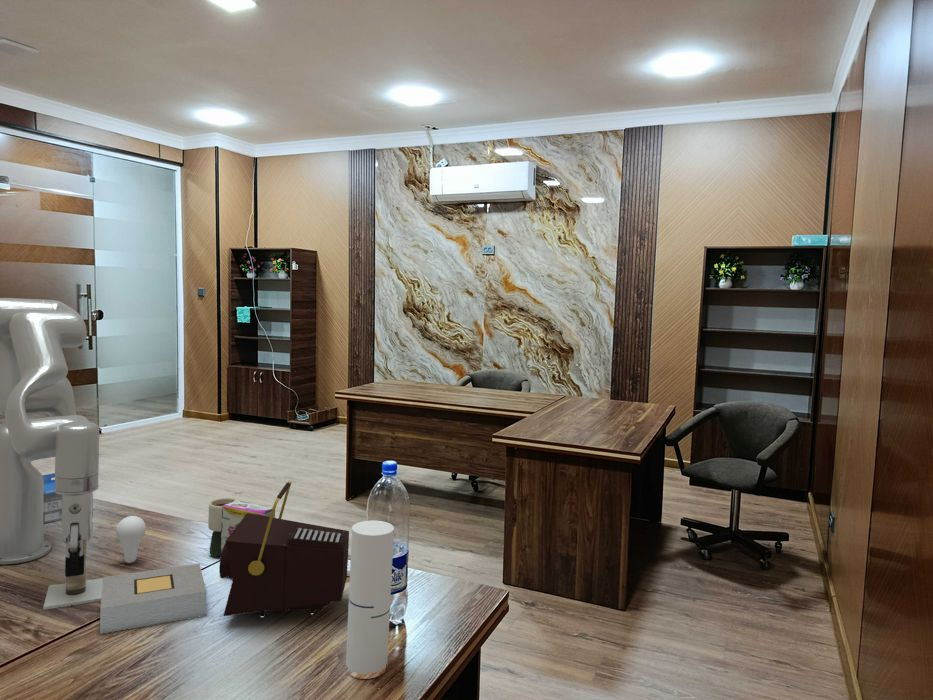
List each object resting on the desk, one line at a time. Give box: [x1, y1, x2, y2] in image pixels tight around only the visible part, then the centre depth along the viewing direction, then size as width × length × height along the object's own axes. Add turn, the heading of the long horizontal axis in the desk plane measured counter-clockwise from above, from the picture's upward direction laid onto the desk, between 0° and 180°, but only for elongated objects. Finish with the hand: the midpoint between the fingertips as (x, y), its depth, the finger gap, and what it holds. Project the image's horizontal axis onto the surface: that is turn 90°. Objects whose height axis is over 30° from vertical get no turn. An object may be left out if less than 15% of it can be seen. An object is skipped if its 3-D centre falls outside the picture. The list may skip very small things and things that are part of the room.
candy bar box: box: [221, 499, 276, 579], centre depth 139 cm, size 11×5×16 cm, turn 71°
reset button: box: [137, 576, 172, 594], centre depth 123 cm, size 6×6×3 cm
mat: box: [42, 577, 103, 611], centre depth 127 cm, size 10×10×1 cm
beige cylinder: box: [65, 537, 88, 595], centre depth 127 cm, size 4×4×12 cm
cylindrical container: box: [345, 520, 395, 674], centre depth 107 cm, size 7×7×25 cm
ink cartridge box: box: [42, 472, 62, 525], centre depth 168 cm, size 9×4×12 cm, turn 147°
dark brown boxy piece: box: [218, 480, 350, 617], centre depth 126 cm, size 16×23×25 cm
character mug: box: [207, 497, 240, 557], centre depth 151 cm, size 11×7×13 cm, turn 51°
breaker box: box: [99, 563, 208, 635], centre depth 123 cm, size 18×14×5 cm
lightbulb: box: [115, 515, 147, 564], centre depth 143 cm, size 6×6×11 cm
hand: (75, 568), depth 127 cm, fingers open, 5 cm apart
